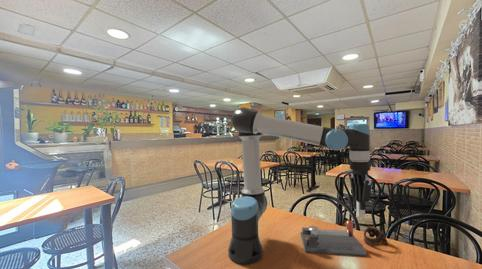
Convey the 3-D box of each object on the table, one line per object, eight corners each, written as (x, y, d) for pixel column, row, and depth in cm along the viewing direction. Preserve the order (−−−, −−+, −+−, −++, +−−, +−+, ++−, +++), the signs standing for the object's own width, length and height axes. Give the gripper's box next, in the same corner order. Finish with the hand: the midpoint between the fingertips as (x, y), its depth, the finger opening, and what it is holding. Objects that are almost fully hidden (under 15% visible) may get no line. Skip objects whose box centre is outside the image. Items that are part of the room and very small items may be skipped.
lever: (303, 240, 96) (303, 221, 96) (302, 235, 100) (301, 217, 100) (354, 243, 93) (354, 223, 92) (351, 238, 97) (350, 219, 97)
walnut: (306, 244, 94) (306, 238, 94) (305, 241, 96) (305, 235, 96) (312, 244, 93) (311, 238, 93) (310, 241, 96) (310, 235, 96)
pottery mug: (394, 250, 92) (388, 236, 91) (373, 257, 94) (367, 244, 92) (378, 230, 104) (373, 218, 102) (360, 237, 106) (354, 225, 104)
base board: (305, 252, 91) (304, 236, 91) (300, 236, 105) (300, 222, 105) (366, 256, 87) (366, 239, 87) (353, 238, 101) (353, 224, 101)
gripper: (379, 162, 80) (380, 222, 81) (358, 158, 93) (359, 210, 94) (361, 163, 80) (362, 223, 80) (342, 158, 93) (343, 210, 93)
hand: (360, 216), depth 87 cm, fingers closed
